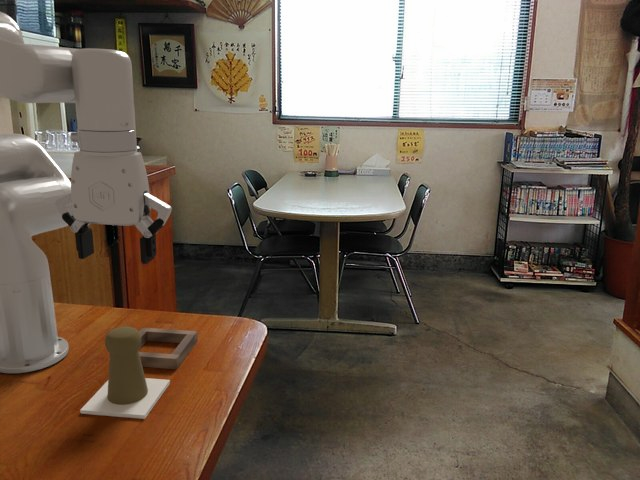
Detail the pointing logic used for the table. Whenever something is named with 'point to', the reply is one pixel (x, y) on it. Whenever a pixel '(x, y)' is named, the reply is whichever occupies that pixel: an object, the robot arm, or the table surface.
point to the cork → (125, 366)
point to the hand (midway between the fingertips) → (117, 258)
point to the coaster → (135, 410)
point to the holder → (167, 335)
